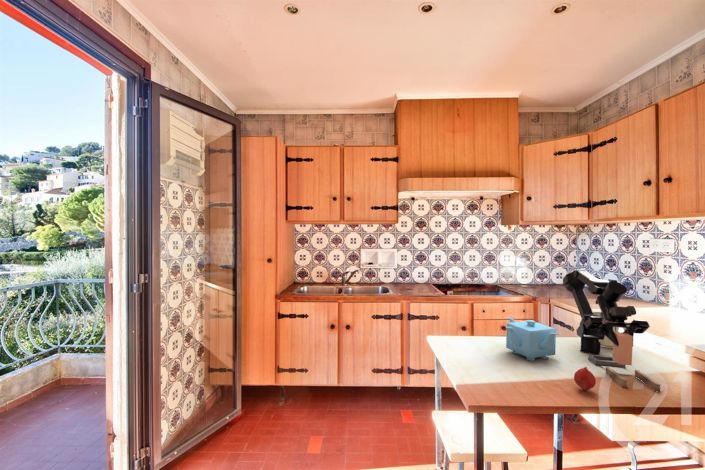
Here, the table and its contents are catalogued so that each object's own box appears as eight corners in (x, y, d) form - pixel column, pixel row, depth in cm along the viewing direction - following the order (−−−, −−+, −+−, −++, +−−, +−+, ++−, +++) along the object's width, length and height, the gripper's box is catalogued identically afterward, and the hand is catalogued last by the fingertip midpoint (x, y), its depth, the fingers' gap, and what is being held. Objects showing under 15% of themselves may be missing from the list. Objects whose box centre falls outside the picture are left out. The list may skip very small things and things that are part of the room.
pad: (601, 366, 123) (601, 365, 123) (622, 369, 121) (622, 368, 121) (609, 373, 117) (609, 372, 117) (632, 375, 115) (632, 374, 115)
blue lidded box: (552, 352, 137) (553, 318, 137) (558, 368, 120) (560, 330, 120) (504, 344, 145) (505, 312, 145) (504, 358, 129) (505, 323, 128)
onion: (569, 386, 106) (570, 362, 106) (585, 385, 107) (586, 362, 107) (583, 395, 101) (584, 370, 100) (600, 394, 101) (600, 370, 101)
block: (612, 359, 118) (613, 331, 118) (624, 360, 117) (626, 333, 117) (618, 364, 114) (619, 335, 114) (631, 365, 113) (632, 336, 113)
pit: (588, 359, 130) (588, 354, 130) (616, 362, 127) (616, 357, 127) (595, 365, 124) (595, 360, 124) (625, 368, 122) (625, 363, 122)
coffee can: (586, 339, 155) (587, 310, 154) (612, 342, 151) (613, 313, 151) (595, 346, 145) (596, 316, 145) (622, 349, 142) (623, 318, 141)
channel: (605, 373, 117) (605, 366, 117) (638, 377, 114) (638, 370, 114) (623, 387, 106) (623, 380, 106) (660, 392, 104) (660, 384, 104)
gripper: (589, 295, 121) (604, 333, 111) (647, 299, 117) (668, 338, 106) (579, 310, 129) (591, 347, 119) (633, 314, 124) (651, 352, 114)
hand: (624, 346), depth 114 cm, fingers closed on block, 4 cm apart
